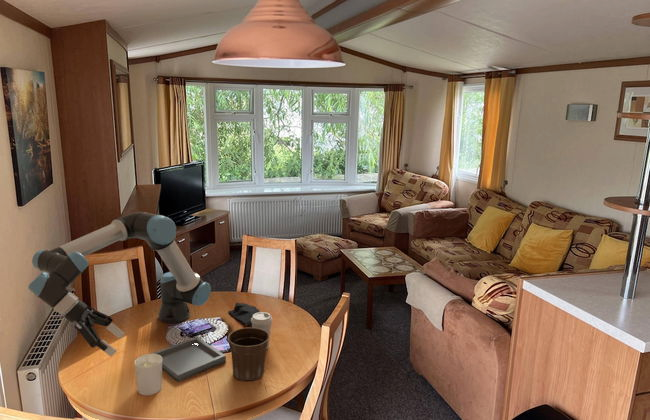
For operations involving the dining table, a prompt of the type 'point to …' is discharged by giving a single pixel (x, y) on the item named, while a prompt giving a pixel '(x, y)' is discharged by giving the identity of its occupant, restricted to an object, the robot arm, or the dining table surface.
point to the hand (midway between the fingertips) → (118, 344)
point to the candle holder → (149, 373)
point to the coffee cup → (262, 322)
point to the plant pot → (248, 352)
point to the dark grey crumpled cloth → (244, 312)
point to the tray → (189, 358)
